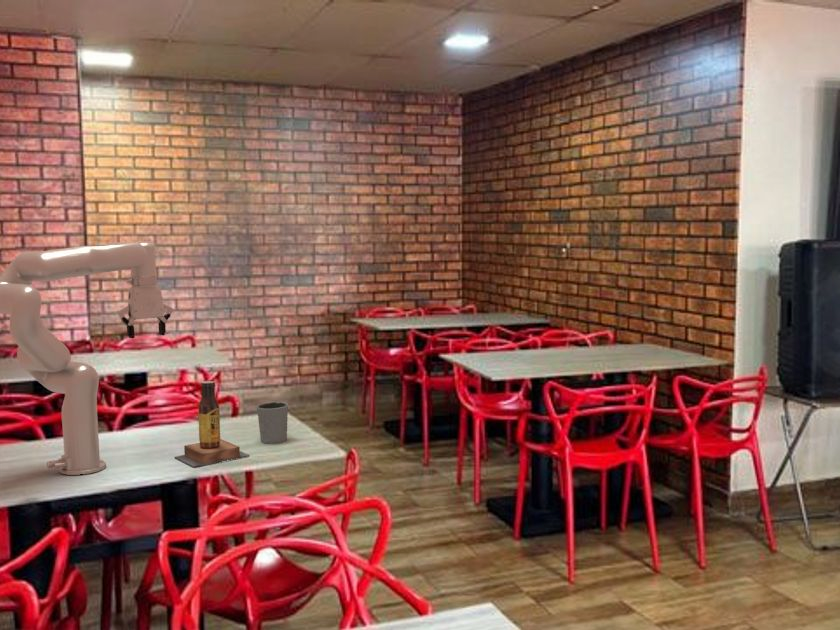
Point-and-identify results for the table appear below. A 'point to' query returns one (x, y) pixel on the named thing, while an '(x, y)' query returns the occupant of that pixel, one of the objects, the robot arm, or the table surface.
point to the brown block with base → (210, 454)
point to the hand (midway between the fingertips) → (146, 336)
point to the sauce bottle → (209, 417)
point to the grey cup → (273, 422)
